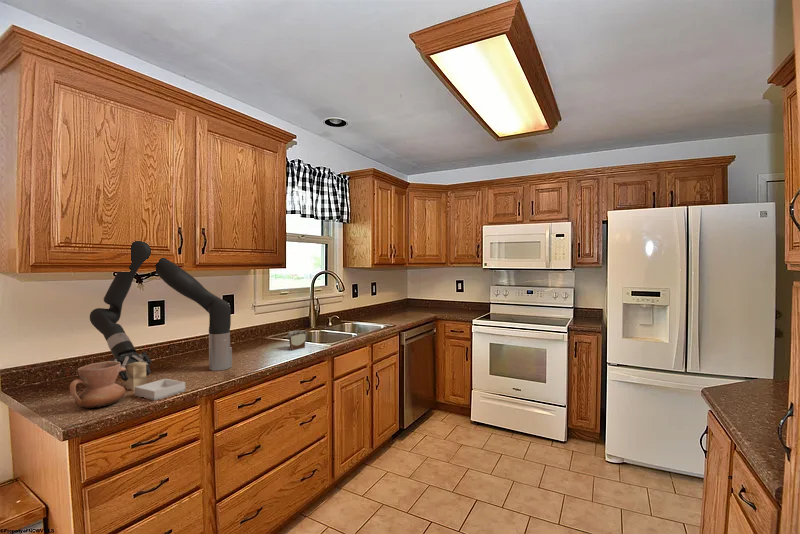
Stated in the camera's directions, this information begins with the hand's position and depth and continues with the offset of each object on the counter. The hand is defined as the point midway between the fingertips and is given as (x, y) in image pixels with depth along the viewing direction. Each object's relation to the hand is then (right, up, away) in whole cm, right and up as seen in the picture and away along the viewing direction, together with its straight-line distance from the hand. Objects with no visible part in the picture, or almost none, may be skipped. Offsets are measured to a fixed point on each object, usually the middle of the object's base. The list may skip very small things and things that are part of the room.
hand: (138, 376), depth 158 cm
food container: (+44, -4, +72) cm, 85 cm away
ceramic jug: (-2, -5, -18) cm, 18 cm away
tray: (+13, -5, -6) cm, 15 cm away
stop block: (-1, -5, +1) cm, 5 cm away
